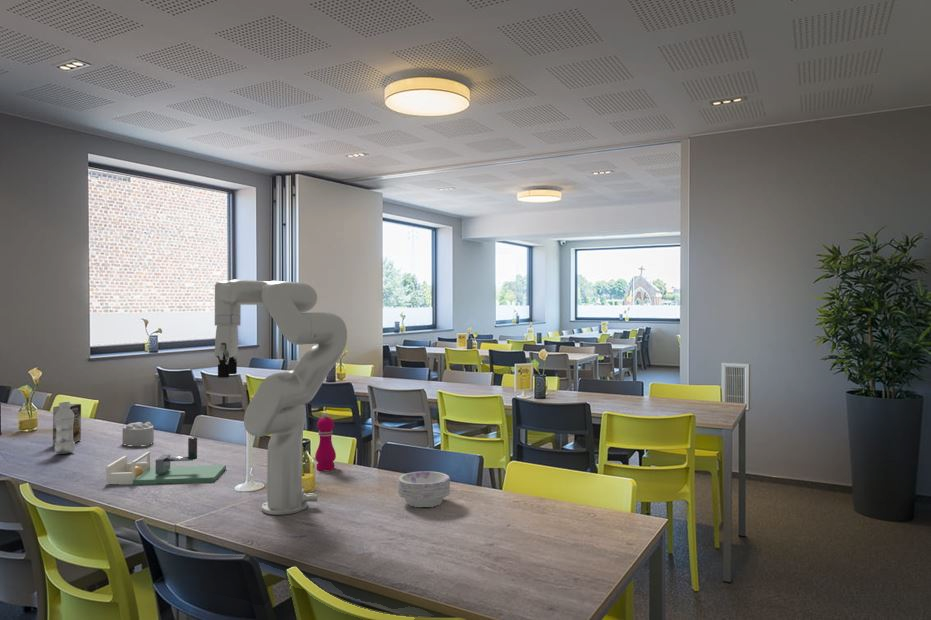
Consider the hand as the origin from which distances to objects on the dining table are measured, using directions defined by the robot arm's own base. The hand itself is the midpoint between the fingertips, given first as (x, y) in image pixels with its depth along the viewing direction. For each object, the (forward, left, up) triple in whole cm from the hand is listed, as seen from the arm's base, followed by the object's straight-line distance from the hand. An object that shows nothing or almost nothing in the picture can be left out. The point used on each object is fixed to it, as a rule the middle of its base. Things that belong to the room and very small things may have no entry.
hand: (227, 375), depth 189 cm
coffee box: (+83, -79, -36) cm, 120 cm away
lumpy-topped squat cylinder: (+53, -75, -37) cm, 99 cm away
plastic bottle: (+75, -60, -36) cm, 103 cm away
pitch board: (+20, -20, -36) cm, 46 cm away
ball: (+34, -20, -34) cm, 52 cm away
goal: (+36, -20, -36) cm, 55 cm away
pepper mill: (-28, -24, -36) cm, 52 cm away
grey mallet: (+21, -20, -34) cm, 45 cm away
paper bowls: (-60, +19, -37) cm, 73 cm away
